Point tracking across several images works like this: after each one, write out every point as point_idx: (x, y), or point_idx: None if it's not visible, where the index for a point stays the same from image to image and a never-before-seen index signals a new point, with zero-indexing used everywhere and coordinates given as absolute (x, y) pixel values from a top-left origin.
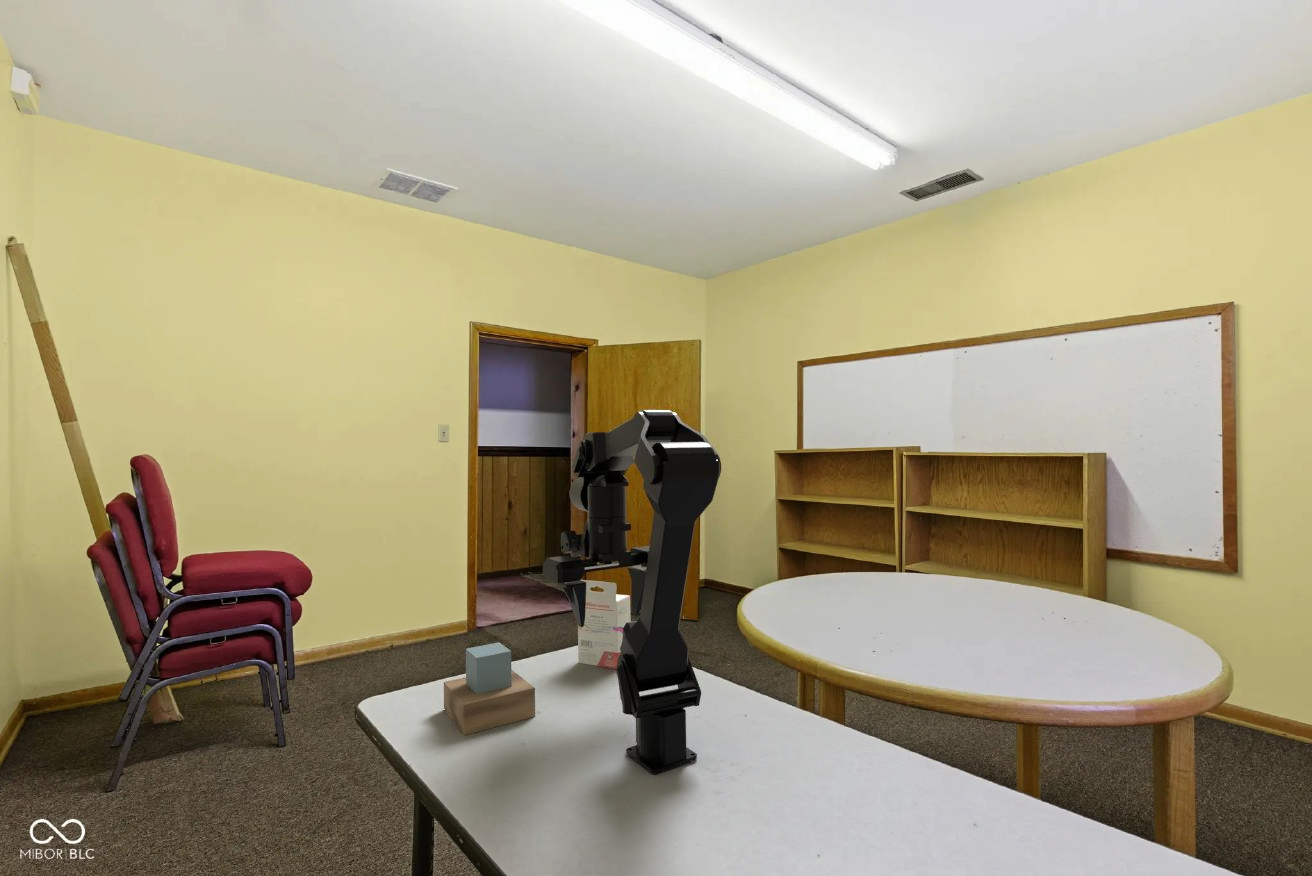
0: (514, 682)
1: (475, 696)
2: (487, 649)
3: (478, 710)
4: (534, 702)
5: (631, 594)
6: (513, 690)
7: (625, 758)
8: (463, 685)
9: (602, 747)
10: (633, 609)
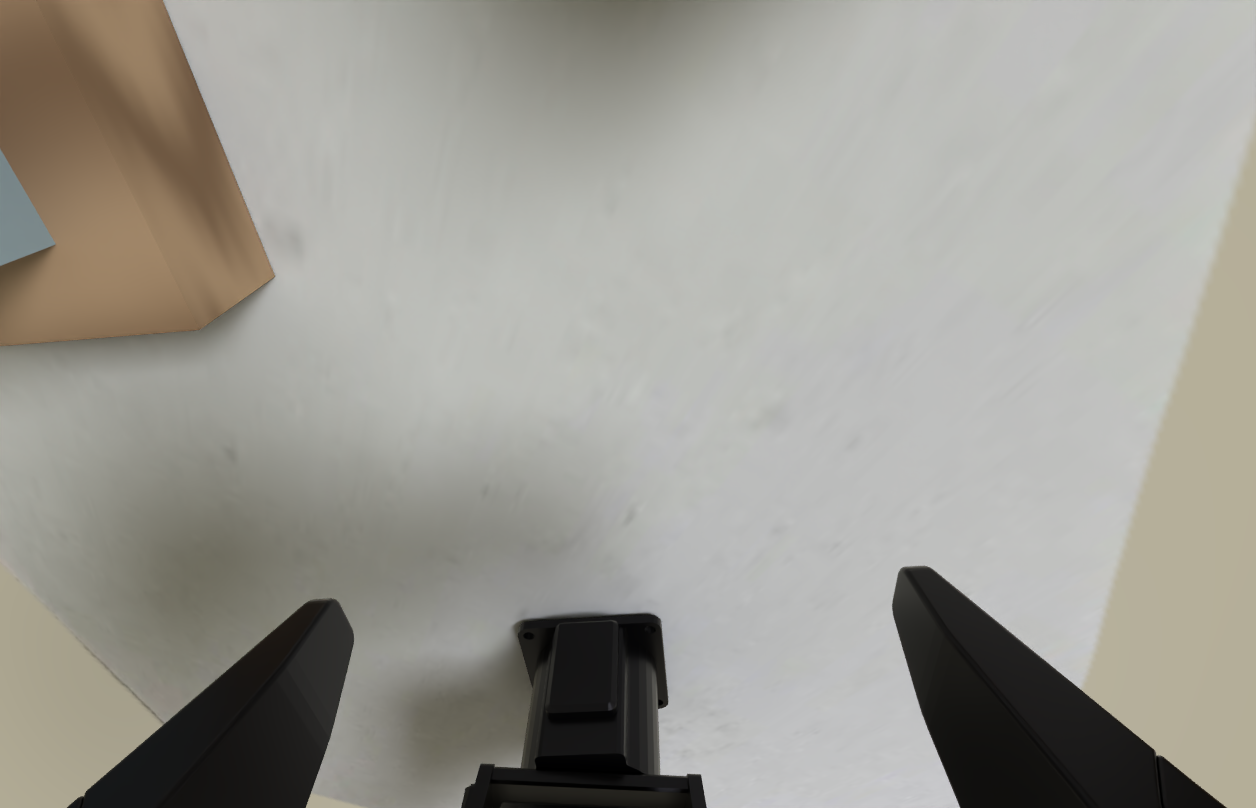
0: (62, 190)
1: None
2: None
3: None
4: (238, 301)
5: (1033, 754)
6: (80, 306)
7: (512, 631)
8: None
9: (473, 570)
10: (920, 640)
